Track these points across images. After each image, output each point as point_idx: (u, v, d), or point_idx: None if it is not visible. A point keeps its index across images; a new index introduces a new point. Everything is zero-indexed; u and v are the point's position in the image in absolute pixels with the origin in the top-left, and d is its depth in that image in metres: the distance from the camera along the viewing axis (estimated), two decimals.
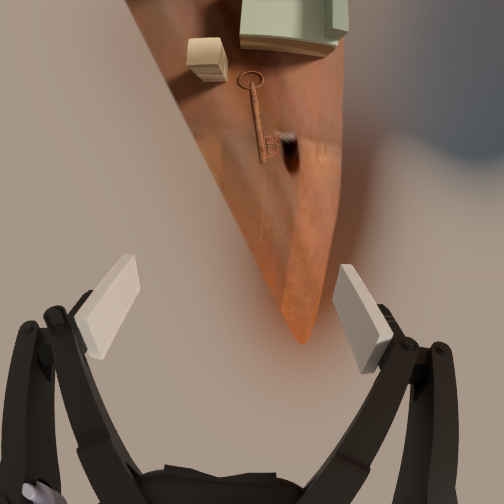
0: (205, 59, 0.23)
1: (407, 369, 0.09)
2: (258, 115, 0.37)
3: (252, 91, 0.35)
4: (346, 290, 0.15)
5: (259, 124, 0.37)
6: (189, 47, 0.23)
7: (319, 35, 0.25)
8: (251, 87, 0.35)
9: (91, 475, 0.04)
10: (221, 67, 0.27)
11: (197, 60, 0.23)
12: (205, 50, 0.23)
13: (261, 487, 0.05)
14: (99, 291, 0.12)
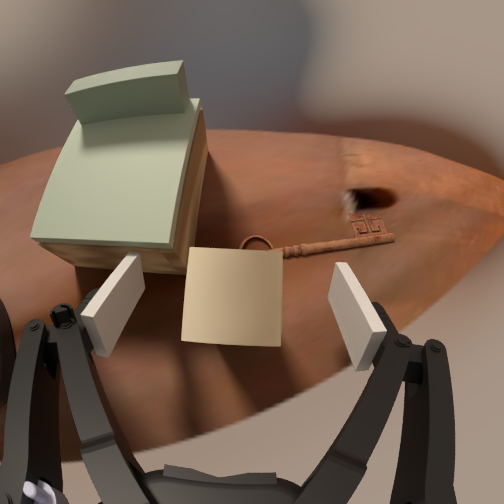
0: (265, 287, 0.10)
1: (401, 366, 0.09)
2: (324, 243, 0.23)
3: None
4: (341, 288, 0.15)
5: (339, 241, 0.23)
6: (214, 338, 0.09)
7: (181, 118, 0.18)
8: None
9: (93, 474, 0.04)
10: None
11: (266, 311, 0.09)
12: (232, 288, 0.10)
13: (261, 487, 0.05)
14: (105, 289, 0.12)
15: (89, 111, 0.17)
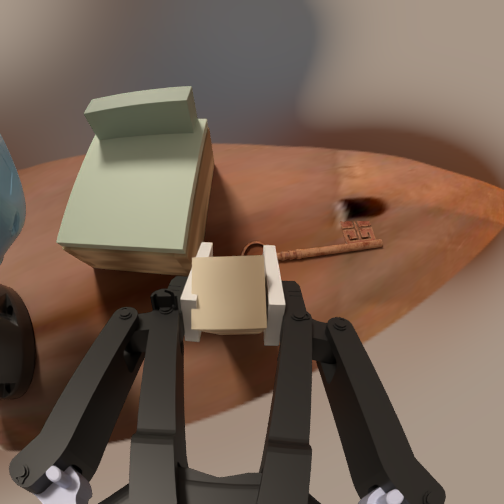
0: (251, 283, 0.13)
1: (306, 340, 0.10)
2: (317, 248, 0.26)
3: (278, 257, 0.26)
4: None
5: (330, 247, 0.26)
6: (216, 325, 0.12)
7: (190, 138, 0.22)
8: None
9: (134, 464, 0.05)
10: None
11: (254, 302, 0.12)
12: (226, 286, 0.13)
13: None
14: None
15: (107, 129, 0.21)
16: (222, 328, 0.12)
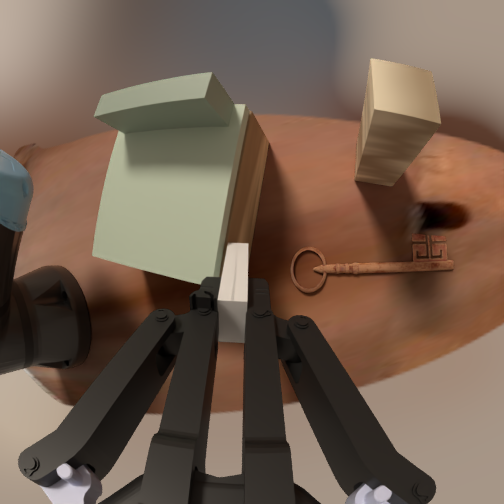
0: (425, 87, 0.09)
1: (269, 336, 0.10)
2: (377, 265, 0.21)
3: (332, 270, 0.22)
4: None
5: (393, 265, 0.20)
6: (398, 110, 0.10)
7: (224, 134, 0.17)
8: (324, 271, 0.22)
9: (151, 464, 0.05)
10: None
11: (428, 101, 0.09)
12: (404, 83, 0.10)
13: None
14: (229, 276, 0.14)
15: (127, 125, 0.18)
16: (402, 114, 0.10)
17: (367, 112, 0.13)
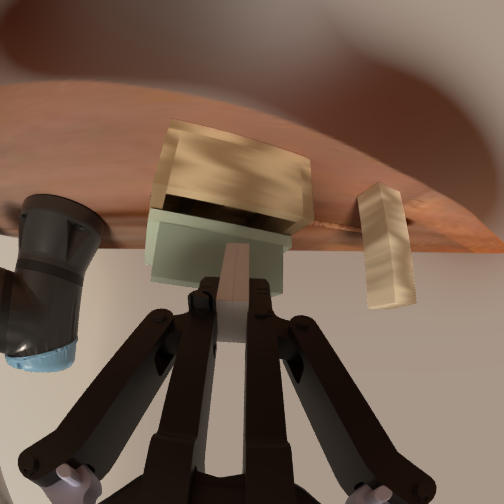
0: (401, 305, 0.23)
1: (271, 337, 0.10)
2: (338, 227, 0.34)
3: (310, 224, 0.34)
4: None
5: (347, 229, 0.35)
6: (377, 308, 0.24)
7: None
8: None
9: (150, 464, 0.05)
10: (410, 264, 0.23)
11: (395, 307, 0.24)
12: (394, 305, 0.22)
13: None
14: (227, 275, 0.14)
15: None
16: (377, 307, 0.24)
17: (377, 274, 0.23)
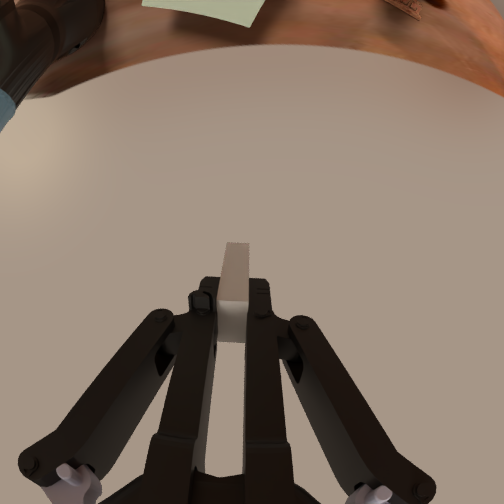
0: None
1: (271, 337, 0.10)
2: None
3: None
4: None
5: None
6: None
7: None
8: None
9: (150, 464, 0.05)
10: None
11: None
12: None
13: None
14: (227, 276, 0.14)
15: None
16: None
17: None
